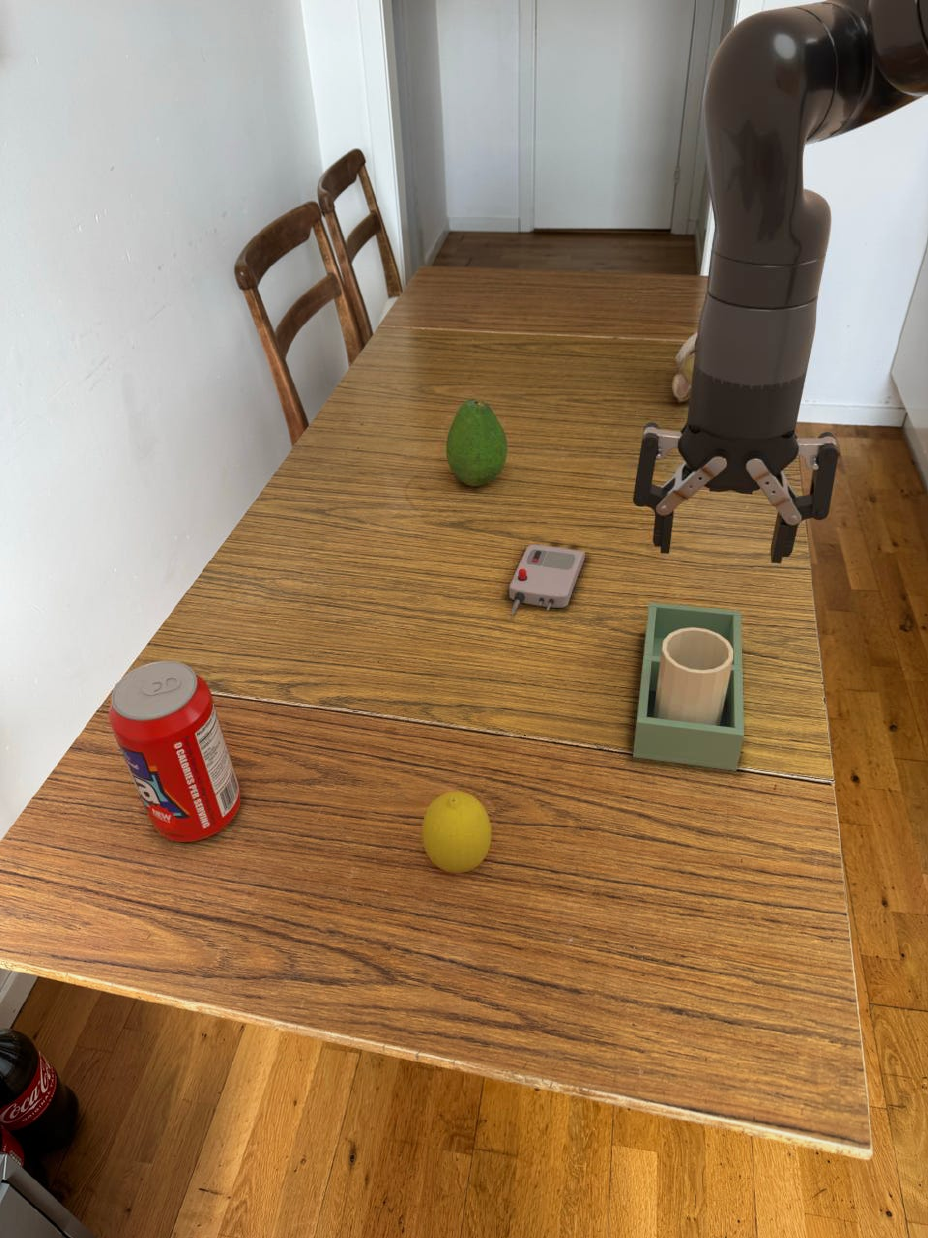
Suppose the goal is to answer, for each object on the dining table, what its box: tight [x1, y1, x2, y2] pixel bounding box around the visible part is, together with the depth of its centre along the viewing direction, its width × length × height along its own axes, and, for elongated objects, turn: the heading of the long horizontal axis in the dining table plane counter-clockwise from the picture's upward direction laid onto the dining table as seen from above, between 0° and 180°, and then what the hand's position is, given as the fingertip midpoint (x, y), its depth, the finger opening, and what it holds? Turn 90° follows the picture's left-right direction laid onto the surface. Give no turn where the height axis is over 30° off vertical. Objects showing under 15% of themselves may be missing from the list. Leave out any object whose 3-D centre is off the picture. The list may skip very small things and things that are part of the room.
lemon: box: [421, 790, 493, 874], centre depth 70 cm, size 6×6×8 cm
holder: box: [632, 601, 745, 772], centre depth 85 cm, size 17×9×5 cm, turn 167°
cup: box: [653, 627, 733, 726], centre depth 80 cm, size 6×6×9 cm
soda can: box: [108, 660, 242, 843], centre depth 74 cm, size 8×8×15 cm
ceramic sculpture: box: [670, 329, 698, 403], centre depth 136 cm, size 11×9×15 cm
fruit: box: [445, 398, 508, 488], centre depth 116 cm, size 8×8×12 cm
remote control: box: [508, 543, 586, 617], centre depth 101 cm, size 7×16×3 cm, turn 162°
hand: (719, 552), depth 71 cm, fingers open, 8 cm apart
